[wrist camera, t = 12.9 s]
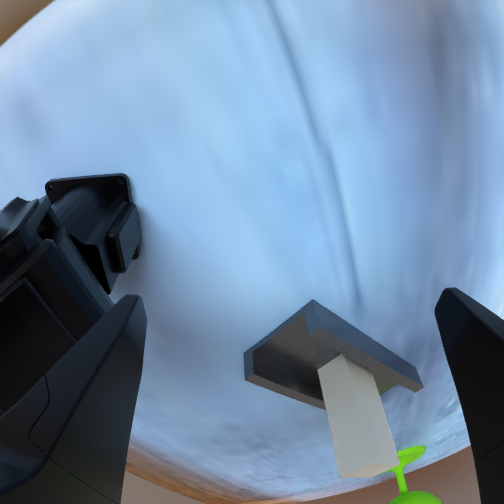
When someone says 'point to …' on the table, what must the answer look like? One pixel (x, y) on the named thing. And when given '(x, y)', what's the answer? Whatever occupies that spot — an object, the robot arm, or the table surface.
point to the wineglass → (418, 500)
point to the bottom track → (320, 356)
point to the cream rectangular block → (356, 419)
